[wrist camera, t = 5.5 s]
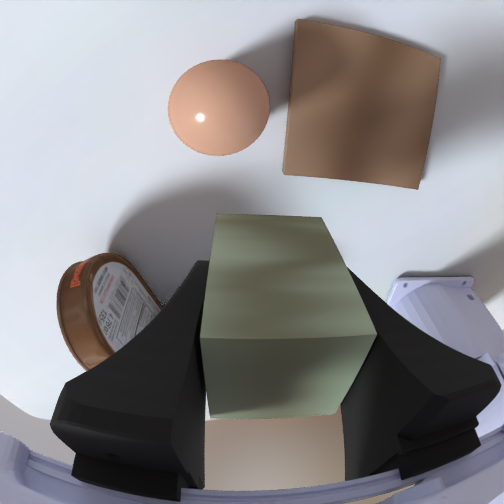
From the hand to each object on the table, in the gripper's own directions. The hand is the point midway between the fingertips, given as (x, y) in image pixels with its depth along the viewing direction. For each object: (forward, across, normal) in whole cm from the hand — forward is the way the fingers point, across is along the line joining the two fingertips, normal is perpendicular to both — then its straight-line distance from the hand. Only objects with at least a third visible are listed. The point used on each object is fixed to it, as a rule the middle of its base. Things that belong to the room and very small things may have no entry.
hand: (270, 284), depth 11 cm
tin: (+9, +8, +10) cm, 15 cm away
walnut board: (+8, -6, -6) cm, 12 cm away
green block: (+2, 0, 0) cm, 2 cm away
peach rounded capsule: (+8, +2, -6) cm, 10 cm away
